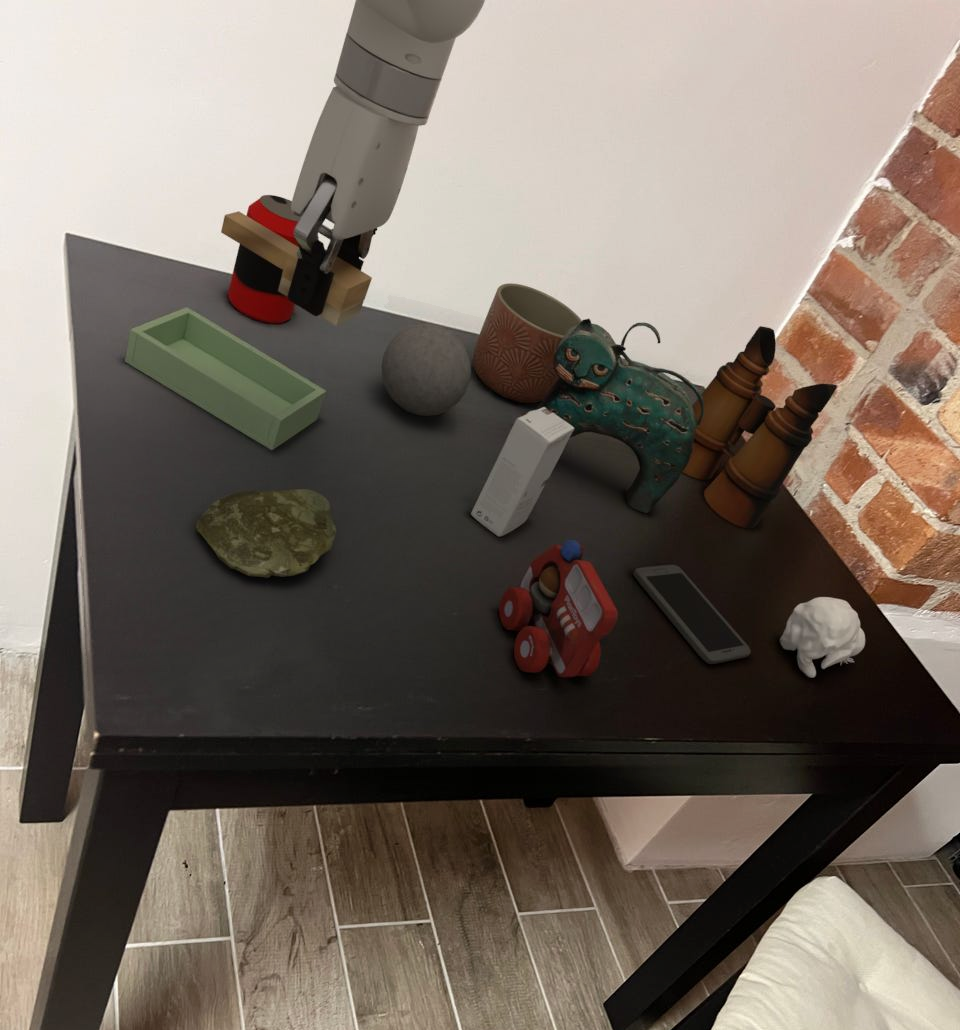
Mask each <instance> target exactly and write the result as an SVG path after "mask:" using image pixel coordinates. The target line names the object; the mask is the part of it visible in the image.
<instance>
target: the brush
mask: <svg viewBox="0 0 960 1030" xmlns="http://www.w3.org/2000/svg"><path fill="white" fill-rule="evenodd" d="M246 215H247V214H244V213H243V212H241V211H235V212H230V213H227V214H224V217H223V222H222V226H221V231H220V233H221V234H223V235H224V236H226V237H227V238H229V239H231V240H233V241H235V242H236V243H237V244H239V245H240V244H241V245H243V246H244V247H246V248H248V249H249V250H251V251H253V252H254V253H256V254H258V255H259V256H261V257H263V258H264V259H266V260H268V261H269V262H271V263H272V264H274V265H276V266H277V267H279V268H281V269H282V270H283V273H282V278H281V282H280V285H279V289H278V291H279V292H281V293H282V294H284V295H285V296H287V297H288V292H289V288H290V285H291V281H292V278H293V274H294V271H295V267H296V264H297V260H298V257H297V251H298V249H299V247H297V246H296V245H294V244H292V243H291V242H289V241H287V240H286V239H284V238H282V237H281V236H279V235H277V234H276V233H274V232H272V231H271V230H269V229H267V228H266V227H264V226H262V225H261V224H259V223H257V222H256V221H254V220H253V219H251V218H249V217H248V216H246ZM326 250H327V248H325V252H326ZM330 271H331V272H333V273H334V276H333V280H332V283H331V286H330V289H329V292H328V296H327V299H326V302H325V305H324V308H323V311H322V314H320V315H318V316H319V317H320V318H321V319H324V320H325V321H326V322H328V323H330V324H332V325H334V326H335V327H338V326H340V325H341V324H343V323H345V322H347V321H349V320H351V319H353V318H355V317H357V316H359V315H360V313H361V311H362V307H363V305H364V302H365V299H366V297H367V294H368V291H369V288H370V285H371V282H372V280H373V277H372V276H370V275H369V274H367V273H366V272H364V271H363V270H361V271H360V270H359V269H357V268H355V267H354V266H352V265H350V264H349V263H347V262H345V261H344V260H342V259H340V258H339V257H337V256H336V258H335V261H334V263H333V266H332V268H331V270H330ZM318 316H317V317H318Z"/></svg>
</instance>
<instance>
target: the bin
mask: <svg viewBox="0 0 960 1030" xmlns="http://www.w3.org/2000/svg"><path fill="white" fill-rule="evenodd" d="M127 341H128V342H127V347H126V353H125V359H124V362H125V363H127V364H128V365H130V366H131V367H133V368H134V369H136V370H137V371H140V372H141V373H143V374H145V375H146V376H148V377H150V378H151V379H153V380H154V381H156V382H157V383H160V384H161V385H163V386H164V387H166V388H168V389H169V390H171V391H173V392H174V393H176V394H177V395H179V396H181V397H182V398H184V399H186V400H187V401H189V402H190V403H192V404H195V406H197V407H199V408H201V409H202V410H204V411H205V412H207V413H209V414H211V416H214V417H216V418H217V419H218V420H220V421H222V422H224V423H225V424H227V425H229V426H230V427H232V428H234V429H235V430H237V431H239V432H240V433H242V434H243V435H245V436H247V437H249V438H251V439H252V440H254V441H255V442H256V443H259V444H260V445H263V446H264V447H265V448H267V449H268V450H270V451H273V450H275V449H276V448H278V447H279V446H281V445H283V444H284V443H285V442H286V441H288V440H289V439H291V438H292V437H294V436H295V435H297V434H299V433H300V432H301V431H303V430H305V428H307V427H308V426H310V425H311V424H313V423H314V422H316V421H317V420H318V418H319V414H320V411H321V408H322V406H323V402H324V400H325V397H326V393H327V390H326V389H324V388H322V387H321V386H319V385H317V384H316V383H314V382H312V381H311V380H309V379H307V378H306V377H304V376H302V375H301V374H300V373H297V372H296V371H294V370H292V369H290V368H289V367H287V366H286V365H284V364H282V363H281V362H279V361H278V360H276V359H274V358H272V357H270V356H269V355H267V354H266V353H264V352H262V351H261V350H259V349H258V348H256V347H254V346H252V345H251V344H249V343H248V342H246V341H244V340H243V339H241V338H239V337H238V336H236V335H234V334H233V333H231V332H229V331H228V330H226V329H224V328H223V327H221V326H219V325H217V324H216V323H214V322H213V321H211V320H209V319H208V318H206V317H204V316H202V315H201V314H199V313H198V312H197V311H194V310H192V309H191V308H189V307H188V306H186V307H183V308H181V309H178V310H175V311H173V312H171V313H169V314H166V315H163V316H160V317H157V318H156V319H155V318H154V319H153V320H150V321H148V322H146V323H143V324H140V325H137V326H135V327H133V328H130V330H129V336H128V340H127Z"/></svg>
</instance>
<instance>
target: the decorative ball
mask: <svg viewBox="0 0 960 1030" xmlns="http://www.w3.org/2000/svg"><path fill="white" fill-rule="evenodd" d="M381 379H382V382H383V384H384V387H385V389H386V392H387V394H388V396H389V397H390V398H391V399H392V401H393V402H394V403H395V404H397V406H399V407H400V408H401V409H403V410H405V411H406V412H408V413H411V414H414V415H417V416H423V417H430V416H436V415H440V414H444V413H445V412H448V411H449V410H451V409H452V408H453V407H455V406H456V405H457V404H458V403H459V402H460V401H461V399H462V398H463V397H464V395H465V393H466V391H467V389H468V386H469V384H470V379H471V361H470V357H469V354H468V352H467V349H466V347H465V345H464V344H463V342H462V340H460V338H459V337H458V336H457V335H456V334H455V333H454V332H453V331H451V330H450V329H448V328H445V327H444V326H442V325H439V324H435V323H429V322H421V323H416V324H411V325H410V326H406V327H405V328H403V329H402V330H400V331H398V332H397V333H396V334H395V335H394V337H392V338H391V340H390V341H389V343H388V344H387V346H386V347H385V350H384V352H383V356H382V361H381Z"/></svg>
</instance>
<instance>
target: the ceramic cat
mask: <svg viewBox="0 0 960 1030" xmlns="http://www.w3.org/2000/svg"><path fill="white" fill-rule="evenodd" d="M581 320H582V322H580V323H579V324H576V325H574V326H573V327H571V328H570V329H569V330H568V331H567V333H566V334H565V335H564V337H563V338H562V340H561V342H560V343H559V345H558V347H557V349H556V351H555V354H554V369H555V372H556V374H557V375H558V376H559V379H558V380H557V381H556V383H555V384H554V385H553V387H552V388H551V390H550V391H549V393H548V394H547V396H546V397H545V398H544V399H543V400H541V402H540V405H539V406H538V408H537V410H538V409H540V408H542V407H545V408H547V409H548V410H550V411H551V412H553V413H554V414H556V415H557V416H558V417H560V418H561V419H563V420H564V421H566V422H567V423H569V424H570V425H571V426H572V427H574V430H573V432H572V434H571V436H570V438H569V439H571V438H573V437H576V436H578V435H580V434H584V433H594V434H598V435H603V436H606V437H610V438H613V439H616V440H619V442H622V443H624V444H625V445H626V446H627V447H629V448H630V449H631V450H632V452H633V453H634V454H635V455H634V456H635V457H636V460H637V462H638V467H639V470H638V472H637V474H636V476H635V478H634V480H633V482H632V483H631V484H630V486H629V488H628V489H627V492H626V503H627V505H628V506H629V507H631V508H632V509H633V510H636V511H639V512H641V513H644V514H649V513H650V512H651V511H652V509H653V508H654V507H655V506H656V504H658V502H659V501H660V500H661V499H662V498H663V497H664V496H665V494H667V492H668V491H669V490H670V489H671V488H672V487H673V486H674V485H675V484H676V482H677V481H678V480H679V478H680V476H681V474H682V473H683V471H684V469H685V468H686V466H687V464H688V463H689V460H690V458H691V455H692V451H693V441H694V436H695V431H696V425H700V424H701V421H702V417H703V413H704V402H703V398H702V395H701V394H702V393H701V391H700V390H699V389H698V387H696V385H695V384H693V382H692V381H690V380H689V379H687V378H686V377H684V376H683V375H681V374H680V373H677V372H675V371H673V370H670V369H666V368H662V367H660V368H659V367H655V366H650V365H648V364H645V363H643V362H639V361H636V360H632V359H631V358H630V357H629V356H628V355H627V353H626V352H625V351H626V350H627V348H626V347H625V342H626V339H627V337H628V334H629V333H630V332H631V331H632V329H634V328H637V327H646V328H648V329H650V330H651V331H652V332H653V333H654V335H655V337H656V340H657V344H662V343H661V336H660V333H659V331H658V329H657V328H656V327H655V326H653V325H652V324H650V323H648V322H636V323H634V324H632V325H631V326H630V327H629V328H628V330H626V332H625V334H624V335H623V337H622V339H621V341H620V344H618V343H616V341H615V340H614V338H613V336H612V335H611V334H610V333H609V331H607V329H605V328H604V327H602V326H601V325H599V324H596V323H592V320H591V319H590V318H586V319H581ZM668 374H669V375H670V376H673V377H675V378H677V379H679V380H680V381H682V382H683V384H685V385H686V386H687V387H689V388H690V389H691V390H692V391H693V393H694V394H695V395H696V398H697V399H698V400H699V403H700V408H701V412H700V417H699V419H698V420H697V419H695V416H694V411H693V407H692V406H693V404H692V401H691V400H690V397H689V396H688V394H687V392H686V391H685V390H684V388H683V387H682V386H681V385H680V384H679V383H677V381H675V380H674V379H673V378H671V377H670V376H669V375H668Z"/></svg>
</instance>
